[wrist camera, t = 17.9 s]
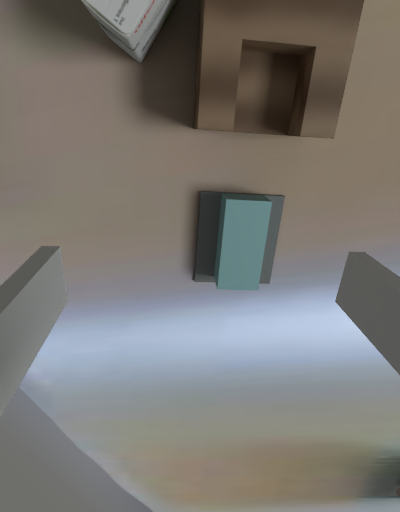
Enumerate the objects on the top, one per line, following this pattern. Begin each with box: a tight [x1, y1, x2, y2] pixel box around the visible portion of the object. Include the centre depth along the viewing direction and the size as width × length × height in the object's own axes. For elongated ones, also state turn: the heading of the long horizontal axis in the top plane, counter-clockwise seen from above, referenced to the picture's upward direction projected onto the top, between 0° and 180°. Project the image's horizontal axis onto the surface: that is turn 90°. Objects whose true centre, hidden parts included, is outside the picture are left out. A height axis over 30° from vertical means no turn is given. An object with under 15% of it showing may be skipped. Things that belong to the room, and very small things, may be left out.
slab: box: [214, 193, 272, 290], centre depth 43 cm, size 13×6×4 cm, turn 176°
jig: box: [193, 0, 364, 139], centre depth 33 cm, size 16×15×8 cm
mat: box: [195, 191, 285, 284], centre depth 46 cm, size 14×12×1 cm
